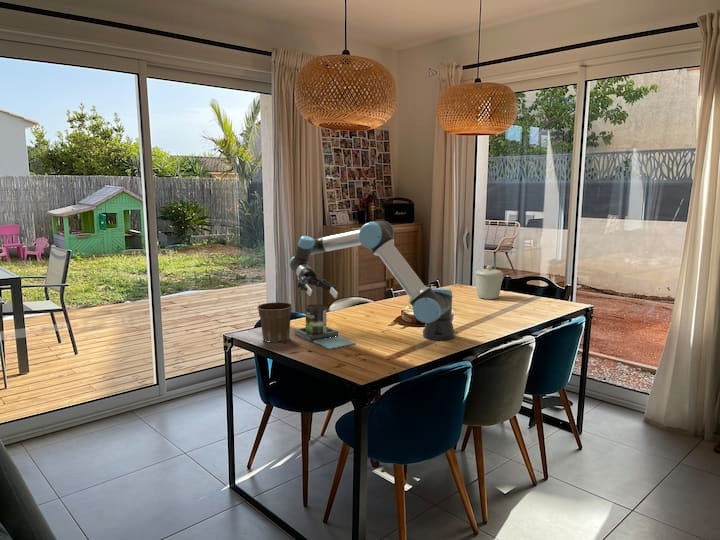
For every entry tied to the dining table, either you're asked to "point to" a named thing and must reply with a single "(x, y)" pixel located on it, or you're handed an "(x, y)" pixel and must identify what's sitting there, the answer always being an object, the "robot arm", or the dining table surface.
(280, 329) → the plant pot
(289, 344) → the dining table surface
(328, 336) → the socket frame
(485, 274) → the canister
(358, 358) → the dining table surface
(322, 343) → the mat
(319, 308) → the coffee can
